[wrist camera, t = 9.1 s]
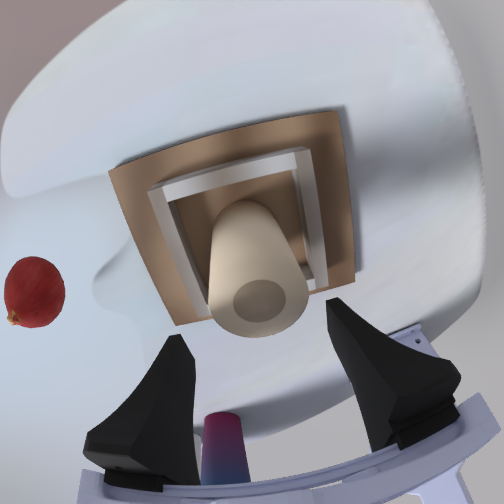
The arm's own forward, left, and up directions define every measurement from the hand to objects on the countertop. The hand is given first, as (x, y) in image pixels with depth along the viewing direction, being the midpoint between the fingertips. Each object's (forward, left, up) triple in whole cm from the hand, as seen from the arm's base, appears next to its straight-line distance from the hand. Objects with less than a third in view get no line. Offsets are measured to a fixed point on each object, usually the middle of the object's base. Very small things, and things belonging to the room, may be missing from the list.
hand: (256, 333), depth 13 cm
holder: (0, -2, -9) cm, 9 cm away
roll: (0, -2, -8) cm, 8 cm away
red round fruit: (+18, -3, -10) cm, 20 cm away
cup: (+10, +25, -10) cm, 29 cm away
